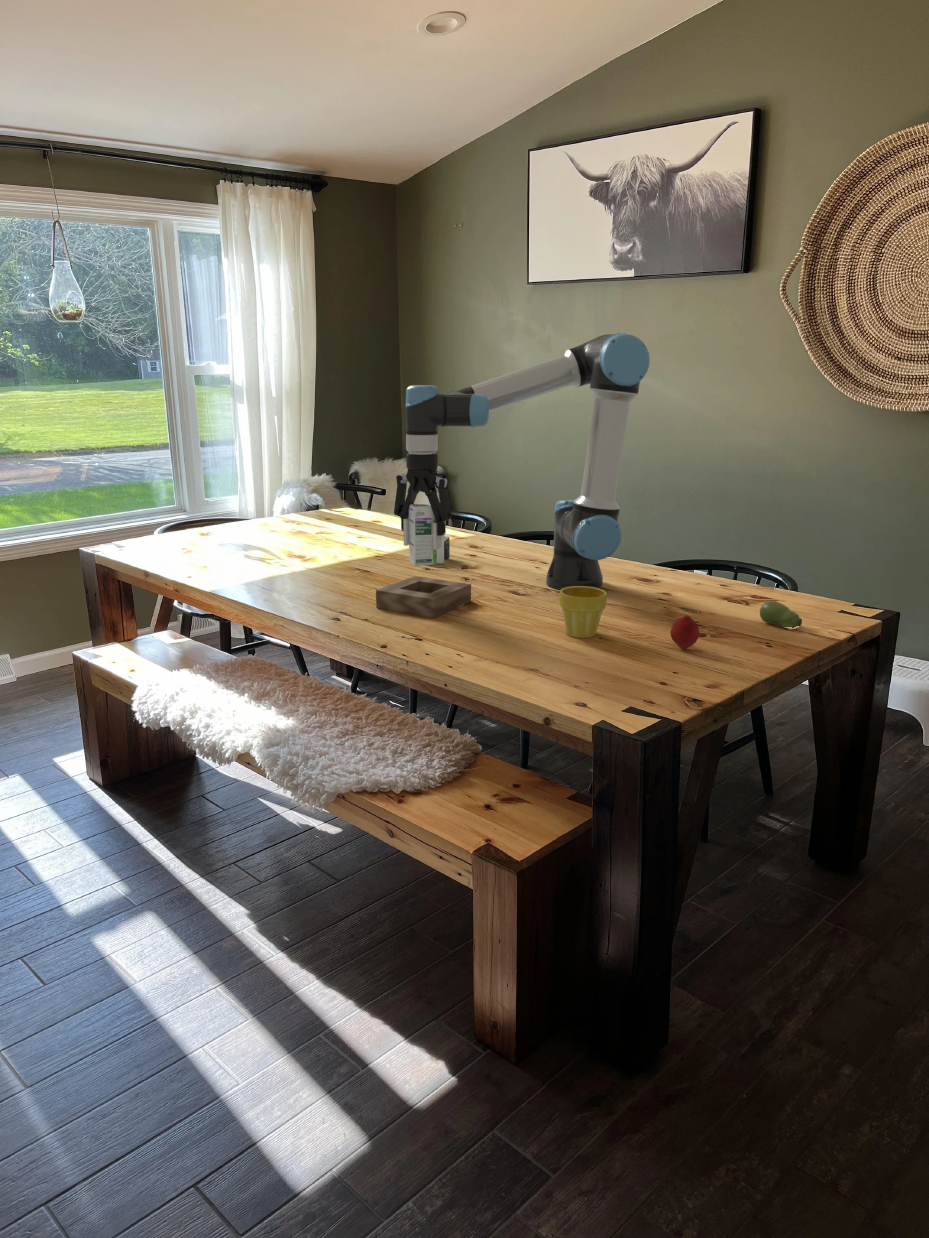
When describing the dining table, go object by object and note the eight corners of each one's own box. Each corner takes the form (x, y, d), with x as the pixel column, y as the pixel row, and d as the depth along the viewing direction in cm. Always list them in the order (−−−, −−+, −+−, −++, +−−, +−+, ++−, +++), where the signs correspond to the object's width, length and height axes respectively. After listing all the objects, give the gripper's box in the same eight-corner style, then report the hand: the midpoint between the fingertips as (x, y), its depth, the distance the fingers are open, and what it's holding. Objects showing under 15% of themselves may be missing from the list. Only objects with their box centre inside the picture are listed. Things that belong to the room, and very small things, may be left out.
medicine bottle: (444, 563, 266) (444, 524, 262) (421, 562, 267) (420, 523, 264) (449, 558, 273) (449, 519, 269) (427, 557, 274) (426, 519, 271)
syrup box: (413, 566, 216) (413, 506, 212) (408, 561, 221) (408, 503, 217) (436, 565, 217) (436, 506, 213) (431, 560, 223) (431, 502, 219)
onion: (693, 644, 191) (696, 609, 189) (701, 653, 186) (704, 616, 184) (666, 645, 191) (668, 609, 189) (673, 653, 186) (676, 616, 183)
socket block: (471, 601, 225) (471, 584, 224) (434, 617, 211) (434, 599, 210) (415, 592, 234) (415, 575, 232) (376, 607, 220) (375, 590, 218)
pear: (772, 596, 209) (809, 612, 202) (767, 616, 211) (803, 633, 204) (758, 599, 206) (794, 616, 198) (752, 620, 208) (788, 637, 201)
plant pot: (612, 631, 201) (614, 589, 198) (594, 643, 192) (596, 599, 190) (569, 624, 206) (571, 583, 203) (550, 636, 197) (551, 593, 195)
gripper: (467, 453, 210) (466, 548, 216) (395, 448, 220) (396, 539, 227) (450, 456, 204) (450, 554, 210) (377, 451, 214) (379, 544, 220)
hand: (422, 546), depth 218 cm, fingers closed on syrup box, 8 cm apart
